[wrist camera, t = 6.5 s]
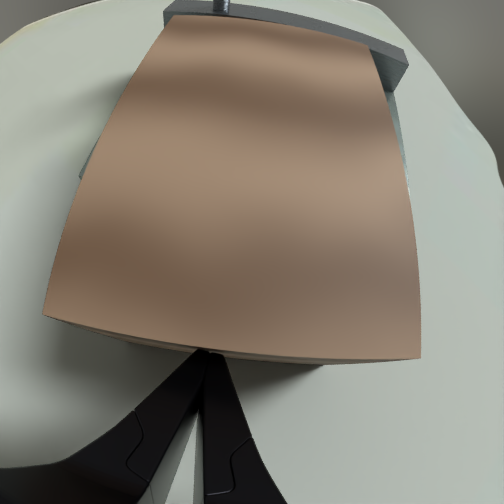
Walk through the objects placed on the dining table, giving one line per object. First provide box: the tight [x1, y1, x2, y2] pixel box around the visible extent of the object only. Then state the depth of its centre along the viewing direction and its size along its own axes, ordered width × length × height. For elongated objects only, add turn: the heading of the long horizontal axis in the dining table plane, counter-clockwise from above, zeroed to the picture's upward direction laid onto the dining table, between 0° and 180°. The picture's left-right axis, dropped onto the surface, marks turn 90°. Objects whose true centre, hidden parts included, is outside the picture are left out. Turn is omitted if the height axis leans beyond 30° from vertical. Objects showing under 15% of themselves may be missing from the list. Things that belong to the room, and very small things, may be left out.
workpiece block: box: [42, 15, 421, 365], centre depth 14 cm, size 16×11×9 cm
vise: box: [79, 0, 410, 197], centre depth 14 cm, size 16×18×15 cm
